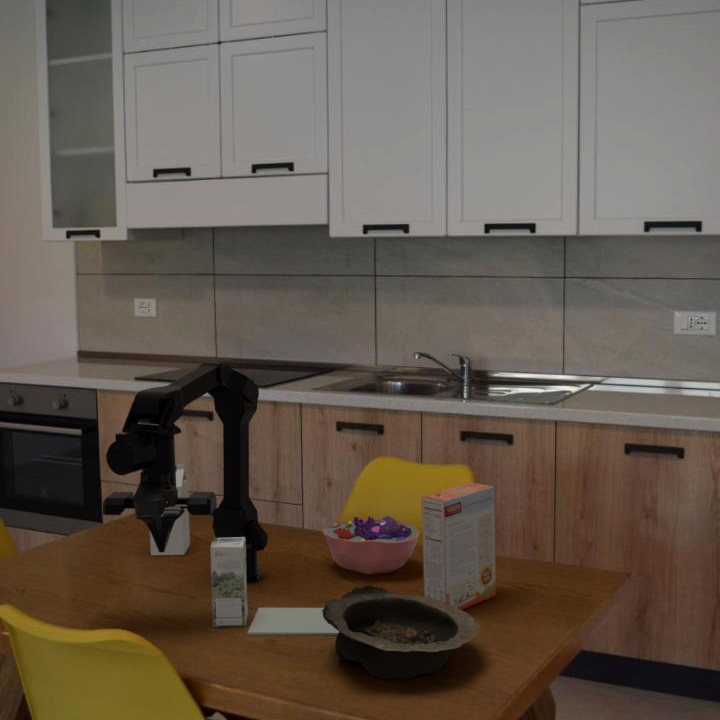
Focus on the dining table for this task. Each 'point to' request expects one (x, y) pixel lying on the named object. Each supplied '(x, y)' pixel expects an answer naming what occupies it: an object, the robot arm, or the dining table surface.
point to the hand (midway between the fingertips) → (162, 551)
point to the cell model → (371, 544)
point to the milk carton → (177, 522)
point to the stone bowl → (397, 631)
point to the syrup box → (229, 581)
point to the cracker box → (459, 545)
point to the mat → (290, 622)
